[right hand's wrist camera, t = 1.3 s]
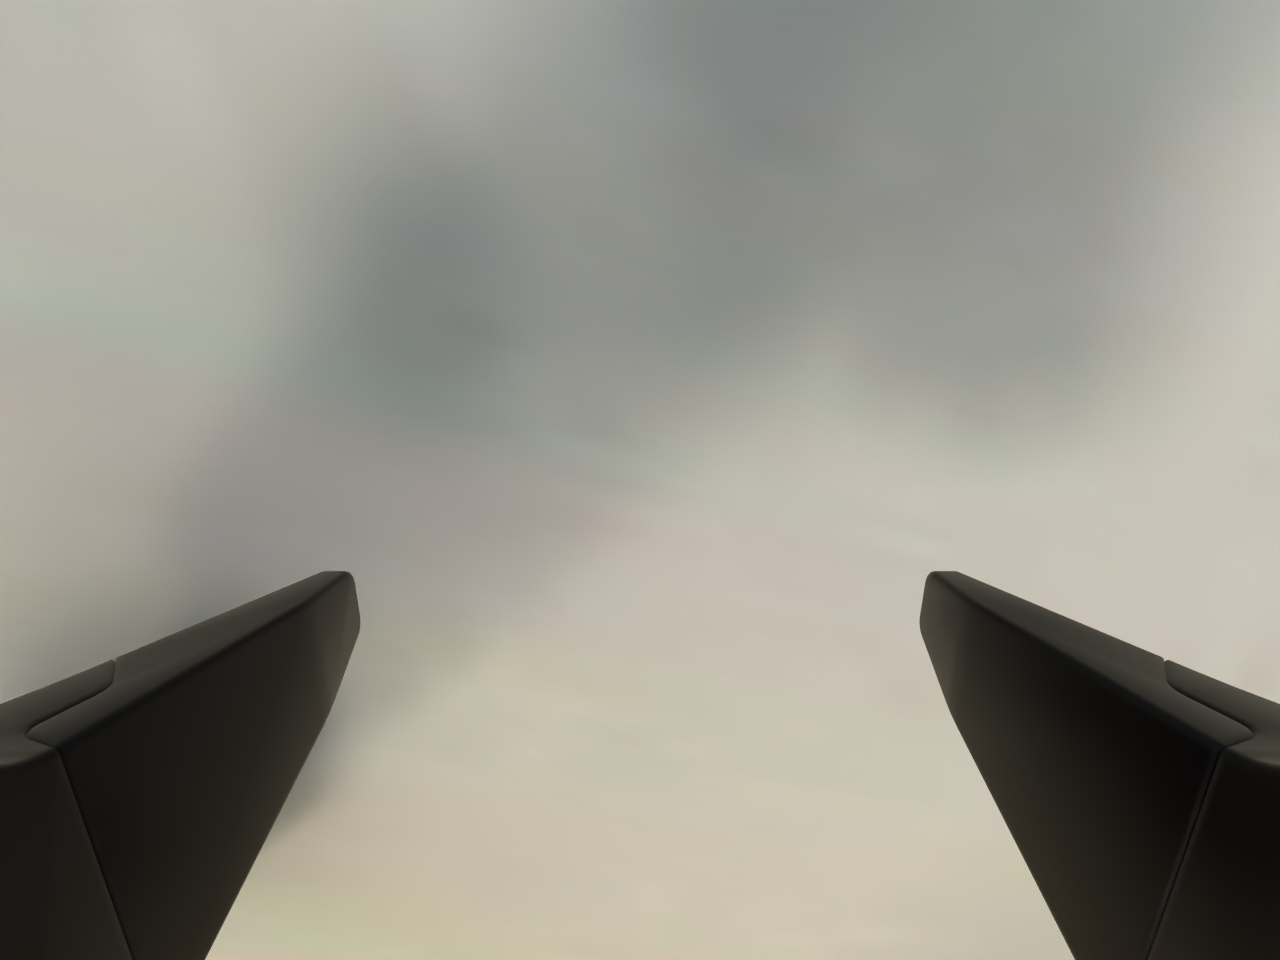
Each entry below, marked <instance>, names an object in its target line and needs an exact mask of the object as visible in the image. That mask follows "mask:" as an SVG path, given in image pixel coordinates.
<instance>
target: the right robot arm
mask: <svg viewBox="0 0 1280 960" xmlns="http://www.w3.org/2000/svg"><path fill="white" fill-rule="evenodd" d="M359 630H360V614H359V607H358V601H357V595H356V588H355V582H354V579H353V576H352V575H351V574H350V573H349V572H346V571H324V572H321V573H318V574H316V575H313V576H311V577H309V578H306V579H304V580H302V581H299V582H297V583H294V584H292V585H290V586H287V587H285V588H282V589H280V590H278V591H275V592H273V593H270V594H268V595H266V596H263V597H261V598H259V599H256V600H254V601H251V602H249V603H247V604H244V605H242V606H239V607H237V608H235V609H232V610H230V611H227V612H225V613H223V614H220V615H218V616H215V617H213V618H211V619H208V620H206V621H204V622H201V623H199V624H196V625H194V626H192V627H189V628H187V629H184V630H182V631H180V632H177V633H175V634H172V635H170V636H168V637H165V638H163V639H161V640H158V641H156V642H153V643H151V644H149V645H146V646H144V647H141V648H139V649H137V650H134V651H132V652H129V653H127V654H125V655H122V656H120V657H118V658H117V659H116V662H115V661H114V660H110V661H108V662H105V663H103V664H101V665H98V666H96V667H93V668H91V669H89V670H86V671H84V672H81V673H79V674H76V675H74V676H71V677H69V678H66V679H64V680H61V681H59V682H57V683H54V684H52V685H49V686H47V687H44V688H41V689H39V690H36V691H34V692H31V693H28V694H26V695H23V696H20V697H18V698H15V699H13V700H10V701H7V702H5V703H2V704H0V960H205V959H206V957H207V955H208V953H209V951H210V949H211V947H212V945H213V943H214V941H215V939H216V937H217V935H218V933H219V931H220V929H221V927H222V925H223V923H224V921H225V919H226V917H227V915H228V913H229V911H230V909H231V907H232V905H233V903H234V901H235V899H236V897H237V895H238V893H239V891H240V889H241V887H242V885H243V883H244V882H245V880H246V878H247V876H248V874H249V872H250V870H251V868H252V866H253V864H254V862H255V860H256V858H257V856H258V854H259V852H260V850H261V848H262V846H263V844H264V842H265V840H266V838H267V836H268V834H269V832H270V830H271V828H272V826H273V824H274V822H275V820H276V818H277V816H278V814H279V812H280V810H281V808H282V806H283V804H284V802H285V801H286V799H287V797H288V795H289V793H290V791H291V789H292V787H293V785H294V783H295V781H296V779H297V777H298V775H299V773H300V771H301V769H302V767H303V765H304V763H305V761H306V759H307V757H308V755H309V753H310V751H311V749H312V747H313V745H314V743H315V741H316V739H317V737H318V735H319V733H320V731H321V729H322V727H323V725H324V723H325V721H326V719H327V717H328V715H329V713H330V710H331V708H332V705H333V703H334V700H335V698H336V695H337V692H338V689H339V686H340V684H341V681H342V678H343V675H344V673H345V670H346V667H347V664H348V662H349V659H350V656H351V653H352V651H353V648H354V645H355V642H356V640H357V637H358V634H359ZM920 630H921V634H922V637H923V640H924V642H925V645H926V648H927V651H928V653H929V656H930V659H931V662H932V664H933V667H934V670H935V673H936V675H937V678H938V681H939V684H940V686H941V689H942V692H943V695H944V698H945V700H946V703H947V705H948V708H949V710H950V713H951V715H952V717H953V719H954V721H955V723H956V725H957V727H958V729H959V731H960V733H961V735H962V737H963V739H964V741H965V743H966V745H967V747H968V749H969V751H970V753H971V755H972V757H973V759H974V761H975V763H976V765H977V767H978V769H979V771H980V773H981V775H982V777H983V779H984V781H985V783H986V785H987V787H988V789H989V791H990V793H991V795H992V797H993V799H994V801H995V803H996V804H997V806H998V808H999V810H1000V812H1001V814H1002V816H1003V818H1004V820H1005V822H1006V824H1007V826H1008V828H1009V830H1010V832H1011V834H1012V836H1013V838H1014V840H1015V842H1016V844H1017V846H1018V848H1019V850H1020V852H1021V854H1022V856H1023V858H1024V860H1025V862H1026V864H1027V866H1028V868H1029V870H1030V872H1031V874H1032V876H1033V878H1034V880H1035V882H1036V884H1037V886H1038V887H1039V889H1040V891H1041V893H1042V895H1043V897H1044V899H1045V901H1046V903H1047V905H1048V907H1049V909H1050V911H1051V913H1052V915H1053V917H1054V919H1055V921H1056V923H1057V925H1058V927H1059V929H1060V931H1061V933H1062V935H1063V937H1064V939H1065V941H1066V943H1067V945H1068V947H1069V949H1070V951H1071V953H1072V955H1073V957H1074V959H1075V960H1280V704H1278V703H1275V702H1273V701H1270V700H1267V699H1265V698H1262V697H1260V696H1257V695H1254V694H1252V693H1249V692H1246V691H1244V690H1241V689H1239V688H1236V687H1233V686H1231V685H1228V684H1226V683H1223V682H1221V681H1219V680H1216V679H1214V678H1211V677H1209V676H1206V675H1204V674H1201V673H1199V672H1196V671H1194V670H1191V669H1189V668H1187V667H1184V666H1182V665H1179V664H1177V663H1175V662H1172V661H1170V660H1166V661H1165V662H1164V659H1163V658H1162V657H1160V656H1158V655H1155V654H1153V653H1151V652H1148V651H1146V650H1143V649H1141V648H1139V647H1136V646H1134V645H1131V644H1129V643H1127V642H1124V641H1122V640H1119V639H1117V638H1115V637H1112V636H1110V635H1108V634H1105V633H1103V632H1100V631H1098V630H1096V629H1093V628H1091V627H1088V626H1086V625H1084V624H1081V623H1079V622H1076V621H1074V620H1072V619H1069V618H1067V617H1065V616H1062V615H1060V614H1057V613H1055V612H1053V611H1050V610H1048V609H1045V608H1043V607H1041V606H1038V605H1036V604H1033V603H1031V602H1029V601H1026V600H1024V599H1021V598H1019V597H1017V596H1014V595H1012V594H1010V593H1007V592H1005V591H1002V590H1000V589H998V588H995V587H993V586H990V585H988V584H986V583H983V582H981V581H978V580H976V579H974V578H971V577H969V576H967V575H964V574H962V573H959V572H956V571H934V572H931V573H930V574H929V575H928V576H927V579H926V582H925V588H924V595H923V601H922V607H921V614H920Z"/></svg>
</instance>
